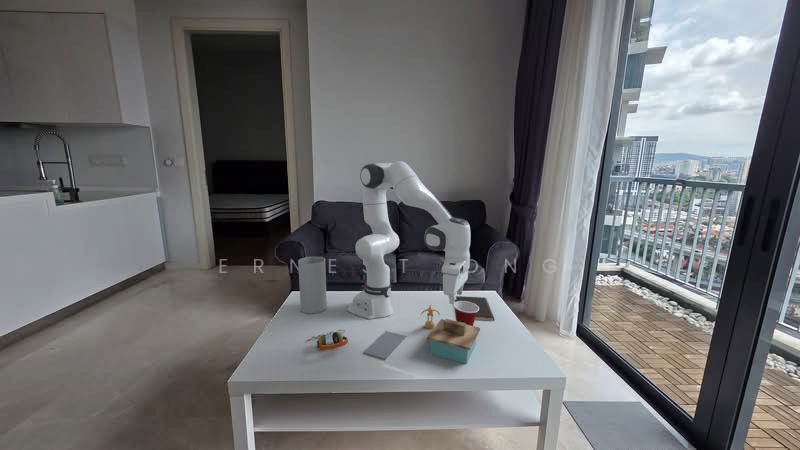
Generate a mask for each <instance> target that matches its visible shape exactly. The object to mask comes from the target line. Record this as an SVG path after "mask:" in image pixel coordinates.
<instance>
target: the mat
mask: <svg viewBox="0 0 800 450" xmlns="http://www.w3.org/2000/svg"><path fill="white" fill-rule="evenodd" d="M406 338H407V335H404V334H400V333H396V332H392V331H387V330H386V331H384V332H383V333H382V334H381V335H380V336H379V337H378V338H377V339H376V340H375V341H374V342H372V344H370V346H367V348H366V349H365V350H364V351H363V355H367V356H370V357H373V358H377V359H380V360H384V361H386V360H387V359H388V358H389V357H390V355H391V354H392V353H393V352H394V351H395V350H396V349H398V347H399V346H400V344H401V343H402V342H404V340H406Z"/></svg>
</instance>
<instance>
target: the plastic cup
mask: <svg viewBox="0 0 800 450" xmlns="http://www.w3.org/2000/svg"><path fill="white" fill-rule="evenodd" d="M453 307H454V313H455V321H458V322H463V323H466V325H471V326H475V325H474V323H475V317H476V314H477V312H478V311H479V307H478V306H477V305H476V304H474V303H471V302H467V301H457V300H456V301H455V303H454V304H453Z"/></svg>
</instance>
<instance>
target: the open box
mask: <svg viewBox="0 0 800 450" xmlns="http://www.w3.org/2000/svg"><path fill="white" fill-rule="evenodd" d="M429 342H430V343H429V348H430V349H429V354H430V355H434V356H438V357H441V358H445V359H449V360H452V361H456V362H459V363H463V364H466V365H467V364H468V362H469V360H470V358H471V356H472V354H473V352H474V350H475V349H476V346H477V338H476V339H475V341H474V343H473V345H472V347H471V349H470V350H467V349H463V348H459V347H455V346H451V345H447V344H443V343H439V342H435V341H432V340H429Z"/></svg>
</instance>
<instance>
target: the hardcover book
mask: <svg viewBox="0 0 800 450" xmlns="http://www.w3.org/2000/svg"><path fill="white" fill-rule="evenodd" d="M455 301H456V302H457V301H467V302H471V303H474V304H476V305H477V306H478V307H479V311H478V312H477V314H476V317H475V320H476V321H493V322H494V321H495V317H494V313H493V312H492V309H491V307H490V305H489V301H488V299H487V297H484V296H483V297H481V296H479V297H478V296H462V295H459V296H457V295H455Z"/></svg>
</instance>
